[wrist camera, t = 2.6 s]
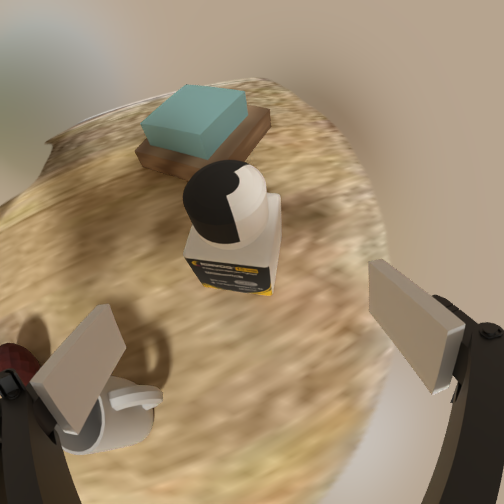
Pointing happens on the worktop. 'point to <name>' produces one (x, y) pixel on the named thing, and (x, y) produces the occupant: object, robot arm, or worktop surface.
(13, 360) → the dark red textured ball
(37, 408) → the robot arm
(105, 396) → the cup
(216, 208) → the medicine bottle
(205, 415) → the worktop surface
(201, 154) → the tower top block
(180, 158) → the tower base slab
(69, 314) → the worktop surface
